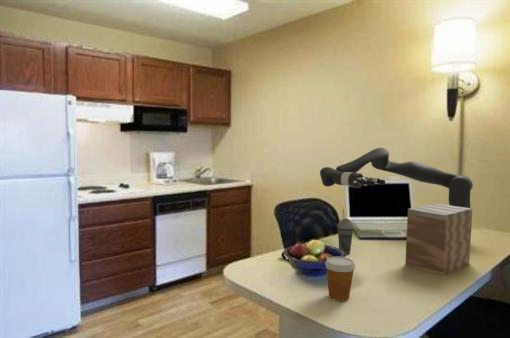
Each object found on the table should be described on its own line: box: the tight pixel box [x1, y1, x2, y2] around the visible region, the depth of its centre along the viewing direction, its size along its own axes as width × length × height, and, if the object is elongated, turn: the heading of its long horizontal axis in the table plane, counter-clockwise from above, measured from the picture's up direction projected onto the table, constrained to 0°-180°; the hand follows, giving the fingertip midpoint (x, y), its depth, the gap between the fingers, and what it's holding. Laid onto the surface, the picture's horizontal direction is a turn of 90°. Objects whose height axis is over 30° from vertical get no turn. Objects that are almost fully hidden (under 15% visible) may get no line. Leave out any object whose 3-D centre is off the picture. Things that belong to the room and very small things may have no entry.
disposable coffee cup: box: [325, 256, 356, 302], centre depth 119 cm, size 10×10×12 cm
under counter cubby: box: [405, 202, 473, 276], centre depth 151 cm, size 23×15×23 cm, turn 128°
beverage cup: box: [336, 208, 355, 256], centre depth 164 cm, size 7×7×20 cm
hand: (379, 182), depth 177 cm, fingers open, 8 cm apart
